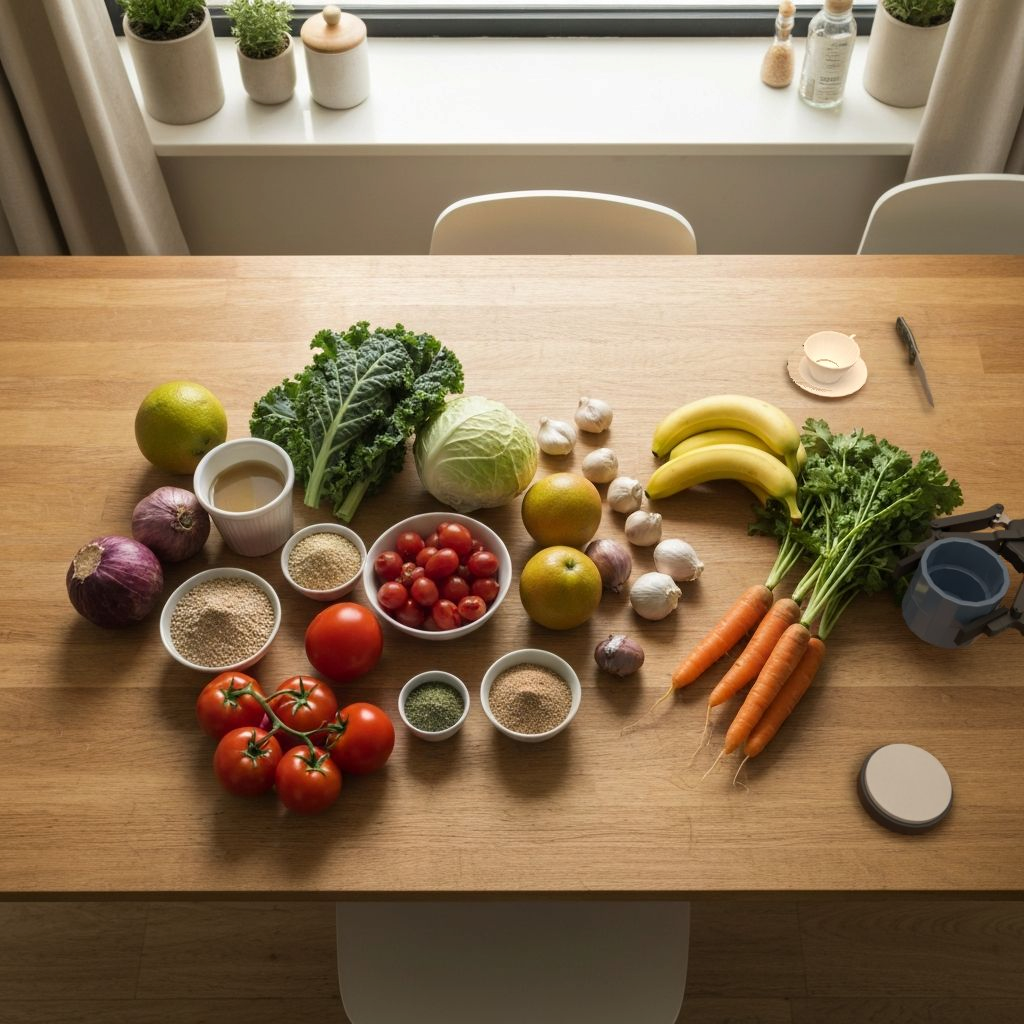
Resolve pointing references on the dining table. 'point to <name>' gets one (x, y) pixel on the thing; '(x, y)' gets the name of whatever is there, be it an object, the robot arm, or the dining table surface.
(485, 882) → the dining table surface
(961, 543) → the cup
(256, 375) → the dining table surface
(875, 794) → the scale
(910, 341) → the knife
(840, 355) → the teacup
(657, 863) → the dining table surface
